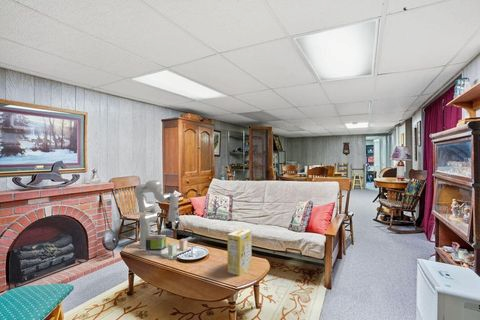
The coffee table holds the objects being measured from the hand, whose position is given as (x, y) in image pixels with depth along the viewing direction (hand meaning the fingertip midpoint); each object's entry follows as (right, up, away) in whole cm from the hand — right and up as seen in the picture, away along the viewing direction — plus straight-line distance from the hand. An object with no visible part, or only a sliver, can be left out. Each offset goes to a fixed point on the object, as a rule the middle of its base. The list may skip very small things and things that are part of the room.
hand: (173, 227), depth 203 cm
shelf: (+2, -24, +1) cm, 24 cm away
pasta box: (+59, -24, -27) cm, 69 cm away
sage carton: (+1, -22, -5) cm, 22 cm away
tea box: (-17, -24, +4) cm, 29 cm away
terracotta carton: (+8, -22, +6) cm, 24 cm away
